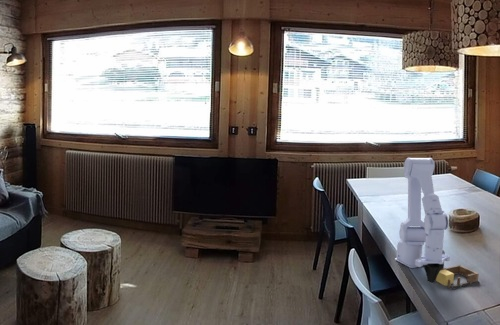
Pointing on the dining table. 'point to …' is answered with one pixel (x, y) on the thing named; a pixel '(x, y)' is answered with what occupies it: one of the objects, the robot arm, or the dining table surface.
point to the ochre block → (445, 277)
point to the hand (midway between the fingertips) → (430, 281)
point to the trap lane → (464, 271)
